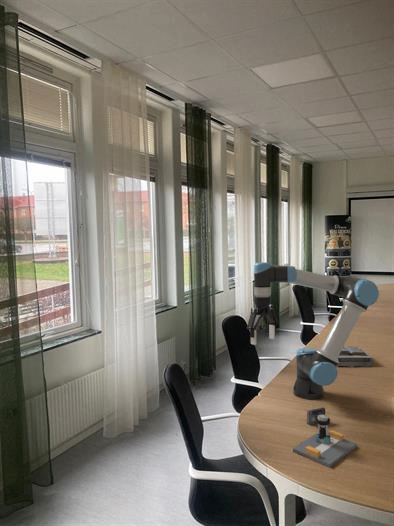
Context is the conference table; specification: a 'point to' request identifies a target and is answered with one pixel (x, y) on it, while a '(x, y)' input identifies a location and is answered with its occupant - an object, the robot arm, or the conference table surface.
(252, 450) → the conference table surface
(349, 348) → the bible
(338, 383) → the conference table surface
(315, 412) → the mini dv tape
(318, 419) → the push button
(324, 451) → the mounting panel
